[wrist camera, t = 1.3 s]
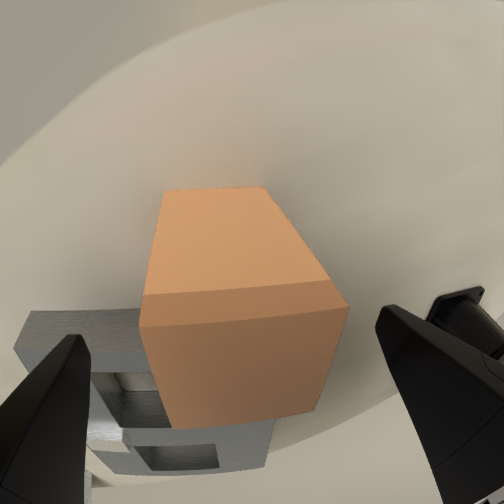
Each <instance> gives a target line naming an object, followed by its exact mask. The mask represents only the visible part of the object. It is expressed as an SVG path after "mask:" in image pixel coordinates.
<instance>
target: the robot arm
mask: <svg viewBox="0 0 504 504" xmlns="http://www.w3.org/2000/svg"><path fill="white" fill-rule="evenodd" d="M484 291H485V290H484V288H483V287H482V286H480V287H476V288H472V289H468V290H464V291H460V292H456V293H452V294H448V295H444V296H441V297H439V298H438V299H437V300H436V302H435V304H434V306H433V309H432V311H431V313H430V315H429V318H428V320H427V322H426V321H425V320H423V319H421V318H419V317H417V316H415V315H413V314H412V313H410V312H408V311H406V310H404V309H402V308H401V307H399V306H397V305H394V304H392V305H386V306H383V307H382V309H381V311H380V314H379V317H378V319H377V322H376V325H375V331H376V334H377V337H378V340H379V343H380V345H381V348H382V351H383V354H384V357H385V359H386V362H387V365H388V368H389V370H390V373H391V375H392V377H393V379H394V381H395V384H396V386H397V388H398V390H399V392H400V395H401V397H402V399H403V401H404V404H405V406H406V408H407V410H408V413H409V415H410V417H411V420H412V422H413V424H414V427H415V429H416V432H417V434H418V436H419V439H420V441H421V444H422V446H423V449H424V451H425V454H426V457H427V459H428V462H429V464H430V467H431V469H432V473H433V475H434V478H435V481H436V484H437V486H438V489H439V492H440V495H441V498H442V501H443V504H474V503H476V502H477V501H479V500H481V499H483V498H485V497H487V498H486V499H485V500H484V501H482V502H481V503H480V504H504V330H503V329H502V328H501V327H500V326H499V325H498V324H497V323H496V322H495V321H494V320H493V319H492V318H491V317H490V315H489V314H488V313H487V312H486V311H485V310H484V309H483V308H482V307H481V306H480V305H479V302H480V300H481V298H482V296H483V294H484ZM90 378H91V354H90V352H89V349H88V347H87V345H86V343H85V341H84V338H83V336H82V335H81V334H67V335H66V336H65V337H64V338H63V339H62V340H61V341H60V342H59V343H58V344H57V345H56V346H55V347H54V348H53V349H52V350H51V351H50V352H49V353H48V354H47V355H46V356H45V358H44V359H43V360H42V361H41V362H40V363H39V364H38V365H37V366H36V367H35V368H34V369H33V370H32V371H31V372H30V373H29V375H28V376H27V377H26V378H25V379H24V380H23V381H22V382H21V383H20V384H19V385H18V387H17V388H16V389H15V390H14V391H13V392H12V393H11V394H10V396H9V397H8V398H7V399H6V400H5V401H4V402H3V404H2V405H1V406H0V504H84V475H85V453H86V439H87V428H88V418H89V408H90Z"/></svg>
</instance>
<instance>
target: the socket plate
mask: <svg viewBox="0 0 504 504" xmlns="http://www.w3.org/2000/svg"><path fill="white" fill-rule="evenodd" d="M140 312H141V309H128V310H99V311H31V312H30V314H29V316H28V318H27V320H26V322H25V324H24V326H23V328H22V330H21V332H20V334H19V337H18V339H17V341H16V343H15V345H14V347H13V349H14V350H15V352H16V354H17V355H18V357H19V359H20V360H21V362H22V363H23V365H24V366H25V368H26V369H27V371H28V373H30V372H31V371H32V370H33V369H34V368H35V367H36V366H37V365H38V364H39V363H40V362H41V361H42V360H43V359H44V358H45V356H46V355H47V354H48V353H49V352H50V351H51V350H52V349H53V348H54V347H55V346H56V345H57V344H58V343H59V342H60V341H61V340H62V339H63V338H64V337H65V336H66V335H67V334H81V335H82V336H83V338H84V341H85V343H86V345H87V347H88V349H89V352H90V354H91V378H90V408H89V418H88V428H87V439H86V445H87V446H88V448H89V449H90V450H91V451H92V452H93V453H94V454H95V455H96V456H97V457H98V458H99V459H100V460H101V461H102V462H103V463H104V464H105V465H106V466H107V467H109V468H110V469H111V470H112V471H113V472H114V473H115V474H125V475H147V476H178V475H200V474H213V473H224V472H233V471H241V470H248V469H255V468H261V467H264V465H265V461H266V457H267V453H268V448H269V444H270V439H271V435H272V430H273V425H274V421H275V419H269V420H263V421H257V422H250V423H242V424H234V425H225V426H215V427H204V428H189V429H173V428H172V426H171V423H170V421H169V418H168V416H167V413H166V410H165V408H164V405H163V402H162V400H161V397H160V394H159V391H149V392H123V390H122V388H121V386H120V384H119V382H118V380H117V378H116V376H115V374H114V372H152V371H151V368H150V364H149V361H148V358H147V355H146V352H145V348H144V345H143V342H142V338H141V335H140V331H139V319H140Z"/></svg>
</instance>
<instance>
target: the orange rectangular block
mask: <svg viewBox="0 0 504 504" xmlns="http://www.w3.org/2000/svg"><path fill="white" fill-rule="evenodd" d="M348 310H349V305H348V304H347V302H346V301H345V299H344V298H343V296H342V295H341V293H340V292H339V290H338V289H337V287H336V286H335V285H334V283H333V282H332V280H331V279H330V277H329V276H328V274H327V273H326V272H325V270H324V269H323V267H322V266H321V264H320V263H319V262H318V260H317V259H316V257H315V256H314V255H313V253H312V252H311V250H310V249H309V248H308V246H307V245H306V243H305V242H304V241H303V239H302V238H301V237H300V235H299V234H298V232H297V231H296V230H295V228H294V227H293V226H292V224H291V223H290V222H289V220H288V219H287V217H286V216H285V215H284V213H283V212H282V211H281V209H280V208H279V207H278V205H277V204H276V203H275V201H274V200H273V199H272V197H271V196H270V195H269V193H268V192H267V191H266V190H265V188H264V187H239V188H213V189H192V190H176V191H164V195H163V199H162V204H161V208H160V212H159V216H158V221H157V225H156V230H155V235H154V239H153V244H152V249H151V254H150V259H149V265H148V270H147V276H146V281H145V287H144V293H143V299H142V306H141V312H140V319H139V331H140V335H141V338H142V342H143V345H144V348H145V352H146V355H147V358H148V361H149V364H150V368H151V371H152V374H153V377H154V380H155V383H156V386H157V388H158V391H159V394H160V397H161V400H162V402H163V405H164V408H165V410H166V413H167V416H168V418H169V421H170V423H171V426H172V428H173V429H189V428H204V427H215V426H225V425H234V424H242V423H250V422H257V421H263V420H269V419H275V418H281V417H286V416H291V415H296V414H301V413H306V412H310V411H314V410H315V407H316V404H317V402H318V399H319V397H320V394H321V391H322V389H323V386H324V383H325V380H326V378H327V375H328V372H329V369H330V366H331V363H332V360H333V358H334V355H335V352H336V348H337V345H338V342H339V339H340V336H341V333H342V330H343V326H344V323H345V320H346V316H347V313H348Z"/></svg>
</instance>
